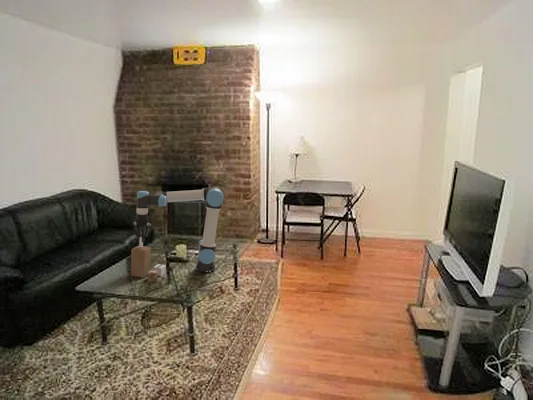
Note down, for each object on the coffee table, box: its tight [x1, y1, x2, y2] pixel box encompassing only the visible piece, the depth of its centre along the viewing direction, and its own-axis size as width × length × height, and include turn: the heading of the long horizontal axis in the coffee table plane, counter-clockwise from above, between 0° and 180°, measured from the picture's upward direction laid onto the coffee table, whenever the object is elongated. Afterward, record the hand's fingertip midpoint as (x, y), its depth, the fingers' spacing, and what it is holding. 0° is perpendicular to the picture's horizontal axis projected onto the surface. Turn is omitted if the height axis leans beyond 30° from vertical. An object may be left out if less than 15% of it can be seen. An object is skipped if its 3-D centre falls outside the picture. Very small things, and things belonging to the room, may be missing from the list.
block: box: [130, 245, 152, 279], centre depth 261 cm, size 10×10×20 cm
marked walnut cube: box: [147, 269, 159, 283], centre depth 255 cm, size 6×6×6 cm
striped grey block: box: [153, 263, 167, 277], centre depth 267 cm, size 6×7×6 cm
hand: (141, 246), depth 259 cm, fingers closed
